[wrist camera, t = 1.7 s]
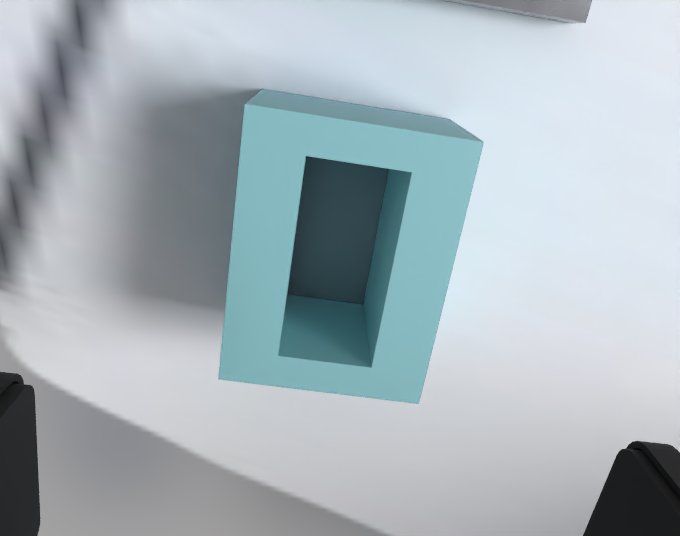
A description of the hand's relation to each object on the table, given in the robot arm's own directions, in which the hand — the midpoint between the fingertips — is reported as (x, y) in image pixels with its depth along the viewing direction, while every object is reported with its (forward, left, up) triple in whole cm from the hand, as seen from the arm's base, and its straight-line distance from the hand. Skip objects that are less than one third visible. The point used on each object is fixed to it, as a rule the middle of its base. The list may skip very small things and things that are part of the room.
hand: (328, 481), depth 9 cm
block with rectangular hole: (0, 0, -15) cm, 15 cm away
